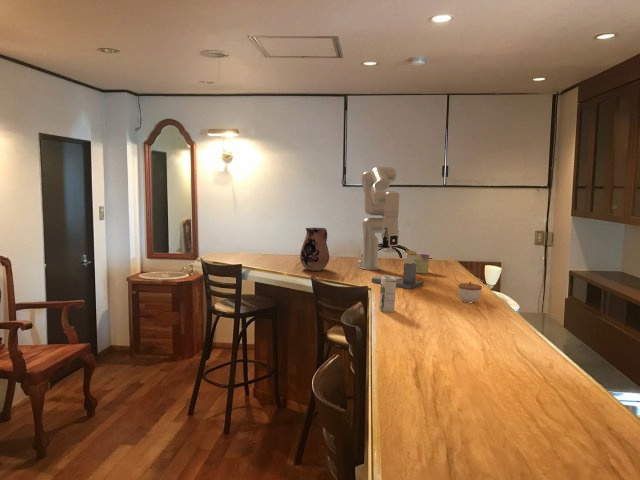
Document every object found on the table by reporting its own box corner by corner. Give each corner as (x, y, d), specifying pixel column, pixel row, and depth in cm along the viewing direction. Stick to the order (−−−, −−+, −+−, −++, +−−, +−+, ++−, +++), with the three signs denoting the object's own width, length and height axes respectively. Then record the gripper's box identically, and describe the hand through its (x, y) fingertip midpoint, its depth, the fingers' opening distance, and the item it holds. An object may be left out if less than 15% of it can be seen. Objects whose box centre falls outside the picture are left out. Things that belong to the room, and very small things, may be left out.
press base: (371, 282, 283) (372, 260, 281) (384, 278, 294) (385, 257, 292) (411, 289, 268) (412, 266, 267) (423, 285, 280) (424, 263, 278)
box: (427, 272, 319) (428, 253, 318) (428, 273, 314) (429, 254, 312) (410, 271, 320) (411, 252, 319) (410, 272, 315) (411, 253, 313)
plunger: (401, 272, 276) (403, 251, 274) (407, 271, 280) (408, 250, 279) (412, 274, 272) (413, 252, 270) (417, 273, 277) (418, 251, 275)
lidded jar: (463, 297, 255) (464, 278, 253) (484, 301, 248) (485, 282, 247) (453, 301, 246) (454, 281, 245) (475, 305, 240) (476, 285, 238)
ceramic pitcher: (294, 270, 308) (296, 228, 305) (309, 265, 328) (310, 225, 324) (322, 273, 302) (324, 230, 298) (335, 268, 321) (336, 227, 318)
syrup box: (378, 308, 227) (380, 276, 226) (391, 308, 228) (393, 276, 226) (381, 312, 222) (383, 278, 220) (394, 312, 222) (396, 279, 220)
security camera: (388, 252, 278) (389, 234, 277) (380, 250, 284) (381, 232, 283) (397, 252, 281) (398, 234, 280) (390, 250, 287) (391, 232, 286)
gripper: (393, 213, 289) (391, 244, 291) (376, 215, 275) (375, 247, 278) (405, 214, 285) (403, 246, 287) (389, 216, 271) (387, 249, 273)
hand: (389, 246), depth 282 cm, fingers closed on security camera, 8 cm apart
